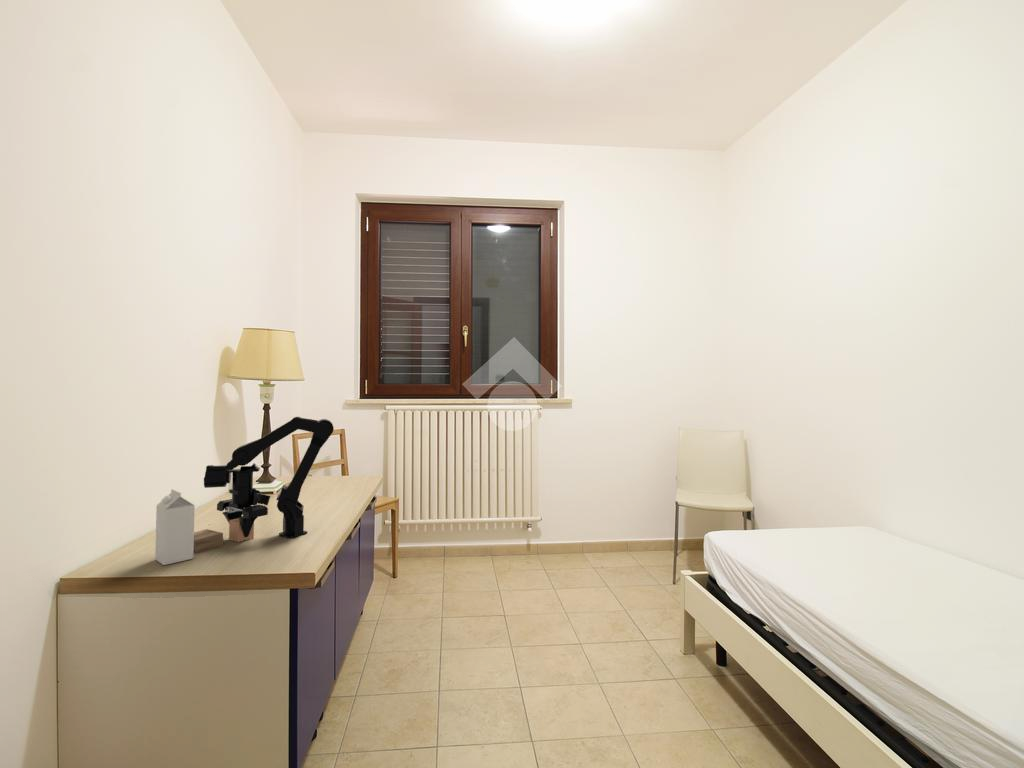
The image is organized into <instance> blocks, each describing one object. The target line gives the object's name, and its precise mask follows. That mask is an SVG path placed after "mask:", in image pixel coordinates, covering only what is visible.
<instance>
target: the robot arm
mask: <svg viewBox="0 0 1024 768" xmlns="http://www.w3.org/2000/svg"><path fill="white" fill-rule="evenodd" d="M334 428H335V427H334V424H333V423H332V421H331V420H330V419H327V418H322V419H319V420H317V419H311V418H304V417H301V416H294V417H293V418H292V419H291V420H289V421H287V422H286V423H284V424H282V425H280V426H278V427H277V428H275V429H274V430H272V431H271V432H270V431H269V432H268V433H267V434H265V435H264V436H262V437H261V438H259V439H258V438H257V440H253V441H250V442H248V443H246V444H243V445H240V446H238V447H237V448H236V449H235V450H234V451H233V452H232V455H231V459H230V461H228V462H227V463H226V465H213V464H212V465H211V464H208V465H206V466H205V472H204V477H203V487H204V489H205V488H206V489H207V488H210V489H212V488H226V487H227V484H232V485H231V489H229V490H228V493H229V494H231V498H229V499H224V500H219V502H217V504H216V511H218V512H222V515H224V517H225V519H226V521H227V522H228V523H229V520H233V519H238V518H239V521H240V524H241V528H242V531H243V535H244V537H248V536H249V533H250V531H251V528H252V525H253V523H254V524H255V521H256V520H257V519H258V518H259V517H263V516H267V515H268V514H269V508H268V506H269V502H270V499H271V497H272V496H271V495H268V494H262V493H261V491H260V490H259V489H258V490H257V489H256V488H254V473H255V472H259V471H260V470H261V469H260V467H259V466H257V464H256V463H252V465H248V464H250V463H251V462H252V461H253V460H254V459H256V458H257V457H258V456H259V455H260V454H261V453H263V452H264V451H265V450H266V449H267V448H269V447H271V446H273V445H274V444H276V443H277V442H279V441H281V440H282V439H284V438H286V437H287V436H290V434H292V433H294V432H296V431H297V430H301V431H305V432H310V433H312V436H311V440H310V442H309V445H308V447H307V449H306V451H305V453H304V455H303V457H302V458H301V461H300V463H299V465H298V467H297V468H296V471H295V473H294V475H293V477H292V479H291V481H290V482H289V483H288V484H287V485H285V484H282V488H281V491H279V493H278V494H277V496H276V501H277V502H276V508H277V509H278V511H279V513H280V512H281V513H282V515H283V518H282V531H281V532H279V533H278V535H279V536H282V537H287V538H289V539H290V538H294V537H299V536H302V535H305V534H306V535H307V534H308V533H309V531H307V530H305V529H304V526H305V523H304V522H305V515H304V505H303V504H302V503H301V501H299V497H300V493H301V491H302V487H303V484H304V483H305V480H306V478H307V477H308V475H309V473H310V470H311V468H312V466H313V465H314V463H315V460H316V458H317V457H318V454H319V452H320V451H321V449H322V447H323V446H324V445H325V444H326V442H327V441H328V440H329V438H330V437H331V436H332V434H333V432H334ZM239 466H240V468H237V467H239ZM235 468H237V469H235ZM231 480H232V483H231Z"/></svg>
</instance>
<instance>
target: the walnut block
mask: <svg viewBox="0 0 1024 768" xmlns="http://www.w3.org/2000/svg"><path fill="white" fill-rule="evenodd" d="M221 545H222V546H223V545H224V532H220V531H216V530H212V529H208V528H207V529H202V530H199V531H194V549H193V554H194V553H195V554H196V553H200V552H204V551H207V550H211V548H212V549H215V548H218V547H217V546H219V547H222V546H221ZM214 547H215V548H214Z"/></svg>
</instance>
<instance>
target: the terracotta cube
mask: <svg viewBox="0 0 1024 768" xmlns="http://www.w3.org/2000/svg"><path fill="white" fill-rule="evenodd" d="M228 525H229V526H228V528H229V529H228V540H229V539H231V540H230V541H233V540H234V541H233V542H236V541H238V542H237V543H240V542H239V541H241V542H243V540H245V541H248V539H249V540H252V539H255V538H254V536H255V535H254V533H255V531H254V530H255V522H254V523H253V525H252V528H251V531H250V533H249V536H248V537H244V535H243V531H242V528H241V524H240V521H239V518H238V519H233V520H229V522H228Z"/></svg>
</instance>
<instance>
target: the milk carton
mask: <svg viewBox="0 0 1024 768" xmlns="http://www.w3.org/2000/svg"><path fill="white" fill-rule="evenodd" d="M195 507H196V506H195V504H194V503H192V502H191V501H188V500H187V499H186V498H184V497H183V496H182V492H180V491H178V490H177V489H174V488H171V490H170V493H169V494H168V495H165V496H164V497H163V498H161V501H160V502H158V503H157V504H156V508H155V509H156V513H155V514H156V515H155V517H156V519H155V549H154V550H155V551H154V552H155V553H154V555H155V556H154V560H156V561H157V562H159V563H160V564H161V565H162V566H166V565H167V566H168V565H170V564H176V563H179V562H183V561H188V560H192V559H194V552H193V549H194V532H195Z"/></svg>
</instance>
